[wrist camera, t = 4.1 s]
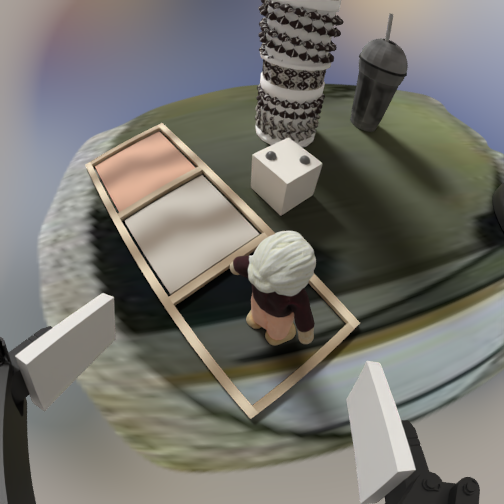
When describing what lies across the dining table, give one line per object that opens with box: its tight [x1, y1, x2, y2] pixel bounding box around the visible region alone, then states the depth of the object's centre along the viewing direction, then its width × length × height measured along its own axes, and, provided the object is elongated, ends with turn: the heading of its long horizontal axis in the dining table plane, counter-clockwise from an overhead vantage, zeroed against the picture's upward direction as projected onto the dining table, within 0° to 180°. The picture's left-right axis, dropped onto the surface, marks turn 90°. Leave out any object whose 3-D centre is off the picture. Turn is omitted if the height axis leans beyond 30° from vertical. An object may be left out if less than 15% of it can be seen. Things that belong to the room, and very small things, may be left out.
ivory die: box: [251, 138, 323, 216], centre depth 29 cm, size 5×5×6 cm
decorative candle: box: [255, 0, 343, 147], centre depth 26 cm, size 9×9×25 cm
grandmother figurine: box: [230, 231, 316, 345], centre depth 19 cm, size 8×4×13 cm, turn 55°
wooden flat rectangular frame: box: [86, 123, 360, 419], centre depth 28 cm, size 36×13×1 cm, turn 39°
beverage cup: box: [350, 14, 407, 131], centre depth 31 cm, size 7×7×20 cm
